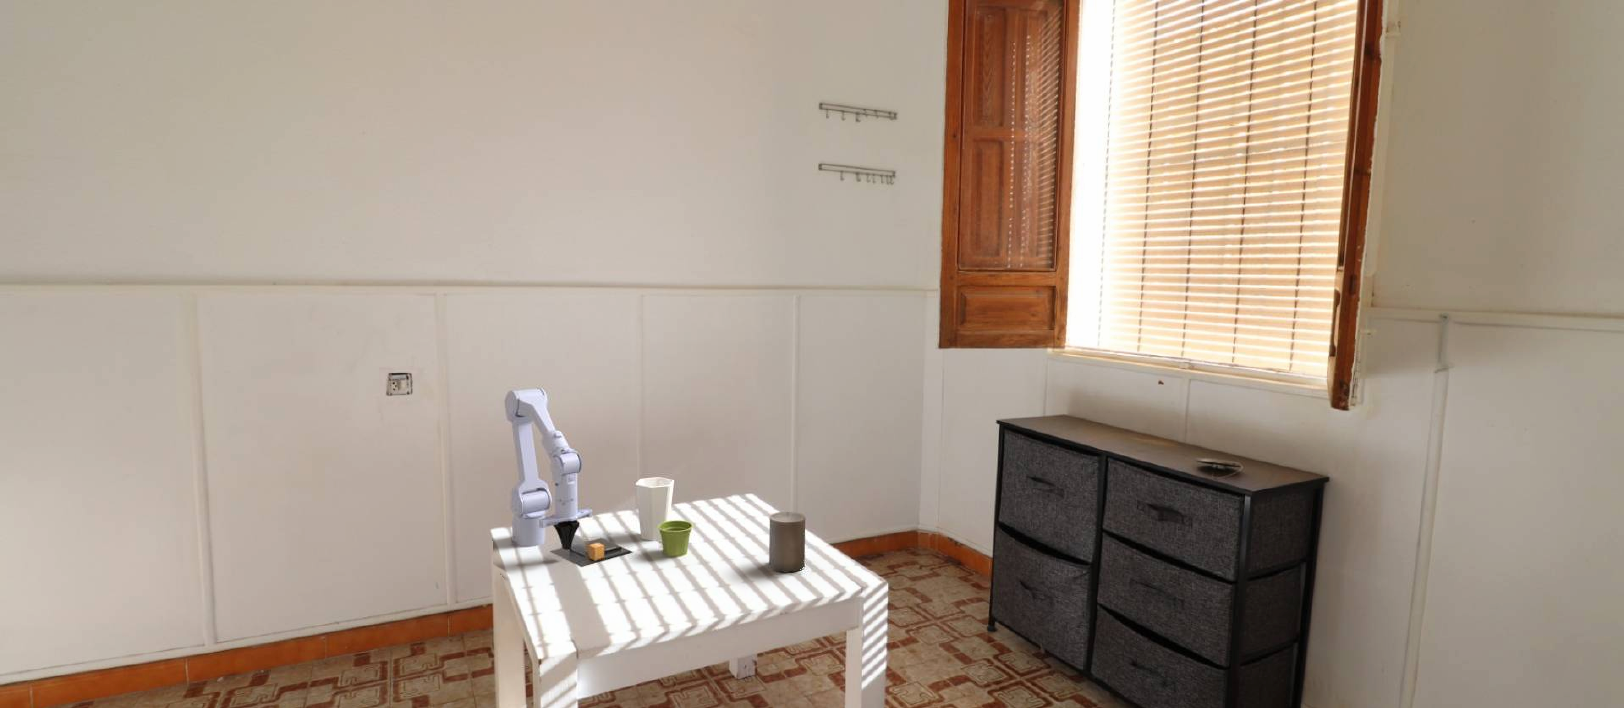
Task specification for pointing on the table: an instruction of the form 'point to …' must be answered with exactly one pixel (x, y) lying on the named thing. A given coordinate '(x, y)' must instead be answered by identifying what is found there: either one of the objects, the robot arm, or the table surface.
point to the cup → (653, 505)
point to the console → (581, 560)
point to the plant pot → (675, 537)
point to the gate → (580, 545)
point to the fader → (596, 551)
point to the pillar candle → (787, 541)
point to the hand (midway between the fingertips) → (566, 548)
